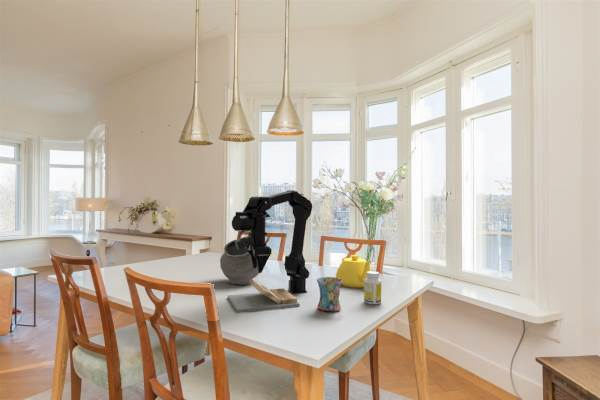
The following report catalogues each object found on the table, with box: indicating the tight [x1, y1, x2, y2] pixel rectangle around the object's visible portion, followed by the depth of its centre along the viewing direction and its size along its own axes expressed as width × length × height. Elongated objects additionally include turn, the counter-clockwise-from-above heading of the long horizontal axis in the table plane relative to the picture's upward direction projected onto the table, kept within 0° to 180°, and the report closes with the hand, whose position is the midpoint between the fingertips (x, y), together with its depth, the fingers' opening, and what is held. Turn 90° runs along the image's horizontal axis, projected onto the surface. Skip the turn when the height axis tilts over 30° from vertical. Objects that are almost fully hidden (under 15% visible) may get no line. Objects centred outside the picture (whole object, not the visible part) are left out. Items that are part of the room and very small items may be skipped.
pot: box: [219, 230, 260, 286], centre depth 164 cm, size 21×21×25 cm
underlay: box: [227, 292, 300, 313], centre depth 132 cm, size 23×19×1 cm
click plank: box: [249, 278, 281, 304], centre depth 132 cm, size 9×16×2 cm
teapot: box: [335, 254, 373, 289], centre depth 164 cm, size 25×18×14 cm
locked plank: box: [269, 288, 298, 304], centre depth 134 cm, size 6×16×2 cm, turn 21°
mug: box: [316, 276, 343, 312], centre depth 123 cm, size 12×9×11 cm
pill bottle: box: [363, 270, 382, 305], centre depth 134 cm, size 6×6×12 cm
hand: (257, 270), depth 132 cm, fingers open, 9 cm apart
